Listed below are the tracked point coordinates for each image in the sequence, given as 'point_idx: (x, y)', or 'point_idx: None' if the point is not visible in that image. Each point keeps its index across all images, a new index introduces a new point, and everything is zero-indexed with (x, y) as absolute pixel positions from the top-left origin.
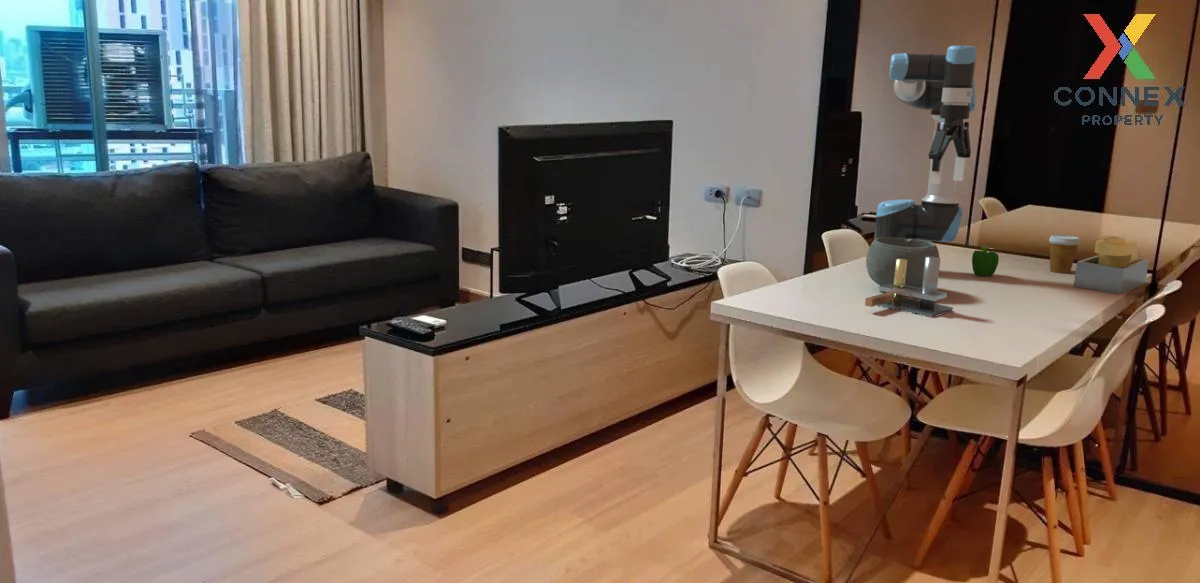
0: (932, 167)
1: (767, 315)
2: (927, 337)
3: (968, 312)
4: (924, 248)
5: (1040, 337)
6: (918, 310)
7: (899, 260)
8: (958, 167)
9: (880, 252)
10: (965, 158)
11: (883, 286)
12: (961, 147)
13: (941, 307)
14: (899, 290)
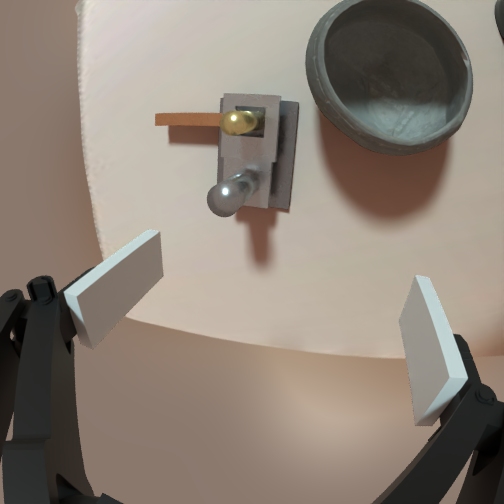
0: (81, 276)
1: (77, 55)
2: (128, 229)
3: (298, 230)
4: (362, 130)
5: (232, 327)
6: (220, 175)
7: (220, 123)
8: (421, 346)
9: (312, 36)
10: (423, 422)
11: (228, 100)
12: (388, 488)
13: (271, 195)
14: (222, 135)
